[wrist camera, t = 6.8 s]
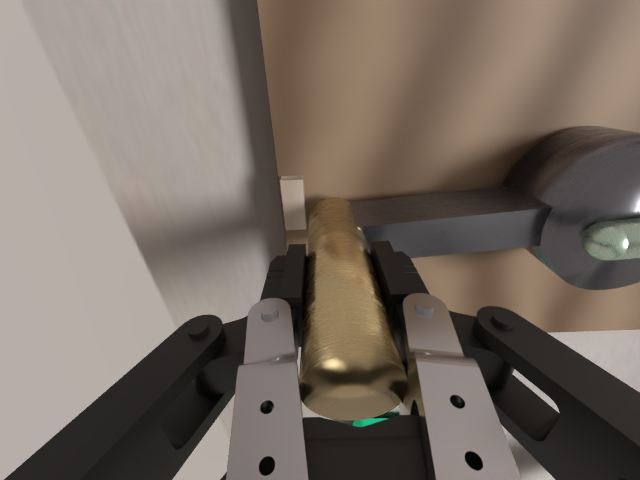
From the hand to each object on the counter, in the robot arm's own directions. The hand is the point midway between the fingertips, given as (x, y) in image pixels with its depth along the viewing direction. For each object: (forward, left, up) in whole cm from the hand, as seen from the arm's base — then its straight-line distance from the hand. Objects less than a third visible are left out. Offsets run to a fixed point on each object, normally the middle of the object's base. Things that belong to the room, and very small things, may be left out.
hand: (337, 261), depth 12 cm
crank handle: (-8, 0, -5) cm, 9 cm away
